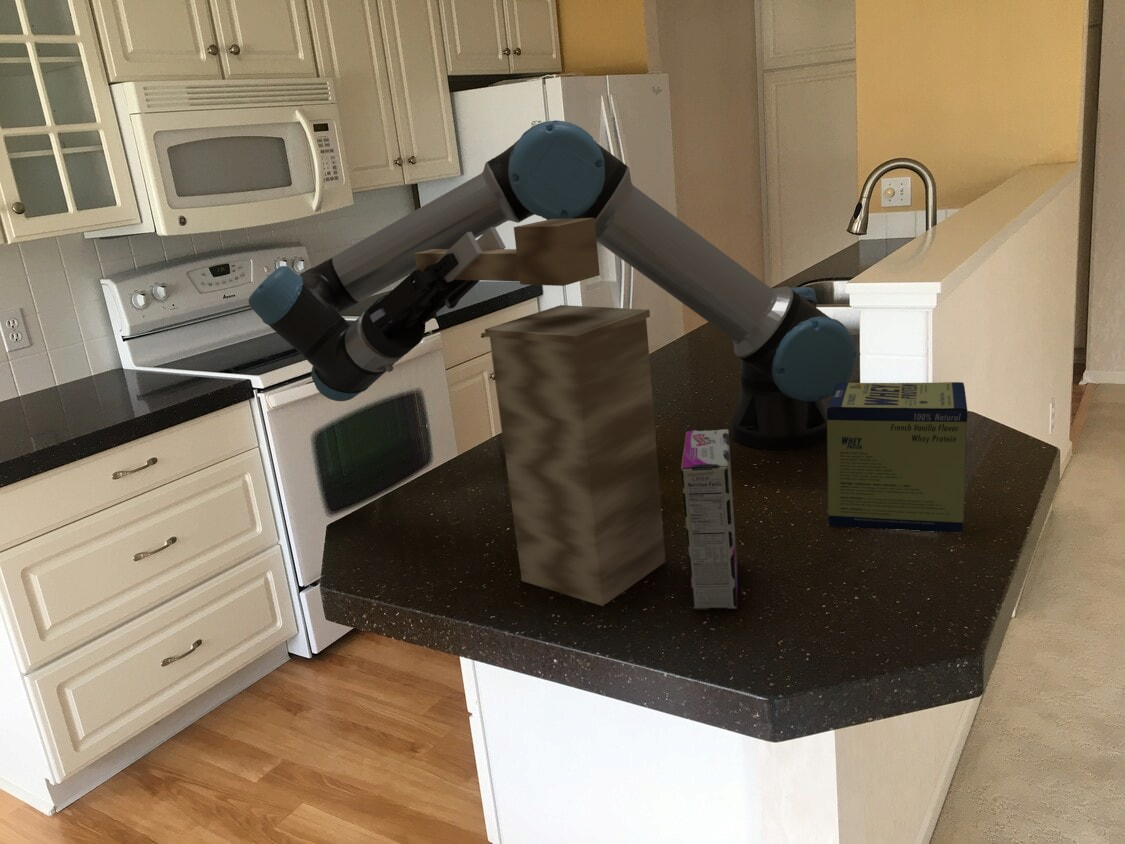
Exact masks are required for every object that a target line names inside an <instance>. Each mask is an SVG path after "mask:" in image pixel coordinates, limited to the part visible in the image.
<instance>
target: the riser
mask: <svg viewBox="0 0 1125 844" xmlns="http://www.w3.org/2000/svg"><path fill="white" fill-rule="evenodd" d="M650 311H651V310H650V309H649V308H648V309H647V308H645V309H643V308H626V307H625V308H624V307H609V306H608V307H606V306H604V307H603V306H589V305H588V306H585V305H566V304H563V305H562V304H560V305H556V306H554V307H550V308H547V309H545V310H541V311H538V312H535V313H532V314H528V315H526V316H523V317H520V318H516V319H513V320H509V321H506V322H504V323H500V324H497V325H494V326H490V327H488V328H485V329H484V334H485V337H487V338H489V342H490V349H491V356H492V364H493V372H494V373H493V374H494V380H495V386H496V396H497V402H498V409H499V418H500V424H501V432H502V433H501V434H502V440H503V441H502V442H503V448H504V456H505V463H506V470H507V479H508V485H509V492H510V493H509V494H510V501H511V507H512V508H511V509H512V515H513V523H514V525H513V526H514V532H515V540H516V548H517V555H518V562H519V568H520V577H521V582H523V583H527V584H531V585H533V586H536V587H540V588H543V589H547V590H549V591H554V592H557V593H559V594H562V595H566V596H569V597H572V598H575V599H579V600H581V601H585V602H589V603H591V604H593V605H598V606H601V607H604V606H605V605H606V604H608V603H610V602H611V601H612V600H614V599H615V598H616V597H618V596H619V595H621V594H622V593H624V592H625V591H627V590H628V589H629V588H631V587H632V586H634V584H637V582H639V581H640V580H642V579H644V578H645V577H646V576H647V575H649V574H650V573H652V572H653V571H655V570H656V569H657V568H659V567H660V566H661V565H664V564H665V563H666V552H665V541H664V539H665V538H664V537H665V536H664V526H663V514H662V504H661V503H662V502H661V487H660V486H661V485H660V475H659V462H658V450H657V449H658V448H657V440H656V439H657V438H656V426H655V413H654V411H655V410H654V400H653V399H654V398H653V387H652V374H651V363H650V362H651V360H650V349H649V336H648V325H647V324H648V323H647V318H651V314H650Z"/></svg>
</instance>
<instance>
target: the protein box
mask: <svg viewBox="0 0 1125 844" xmlns="http://www.w3.org/2000/svg"><path fill="white" fill-rule="evenodd" d="M967 405H968V404H967V397H966V389H965V383H964V382H962V381H956V382H955V381H954V382H953V381H951V382H950V381H947V382H945V381H944V382H943V381H942V382H847V383H836V384H835V385H834V389H833V393H832V396H830V399H829V401H828V403H827V406H826V408H827V438H826V440H827V441H826V442H827V445H826V446H827V447H826V448H827V451H826V453H827V526H828V527H832V528H833V527H834V528H847V527H854V528H853V529H856V528H855V527H859V528H858V529H866V528H876V529H875V530H884V529H886V528H887V529H905V530H907V529H908V530H920V531H935V532H934V533H936V531H937V532H939V531H940V532H941V531H942V532H944V531H945V532H963V533H964V517H965V515H964V514H965V493H966V492H965V490H966V464H967V463H966V460H967V443H968V442H967V441H968V406H967ZM878 528H879V529H878ZM881 528H882V529H881Z"/></svg>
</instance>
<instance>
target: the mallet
mask: <svg viewBox="0 0 1125 844" xmlns="http://www.w3.org/2000/svg"><path fill="white" fill-rule="evenodd" d="M513 234H514V235H513V236H514V241H515V248H512V249H511V248H508V249H507V248H505V249H481V251H482V252H483V253H482V254H481V255H480V256H479V257H478V258H477V259H475V260H474V261H473V262H472V263H471V264H470V265H469V266H468V267H467V268H466V269H464V270H463V271H462V272H461V273H460V274H459V275H458V276H457V277H456V278H455V279H453V280H480V281H485V282H486V281H487V282H491V281H492V282H517V283H518V282H519V284H520V285H521V286H522V285H525V286H526V285H527V286H528V285H529V286H553V287H555V286H560V287H565V286H568V285H571V284H575V283H578V282H582V281H585V280H588V279H592V278H596V277H599V276H600V275H601V273H600V263H599V254H598V252H599V251H598V242H597V240H596V229H595V218H574V219H549V220H547V219H545V220H540V221H536V222H531V223H526V224H522V225H517V226H513ZM448 250H449V249H432V250H427V251H423V252H418V253H414V255H415V261H416V268H417V270H418V269H420V270H421V272H423V271H424V270H425V268H426V267H427V266H428V265H430V264H436V263H437V261H438V260H439V259H440V258H441V257H442V256H443V255H444V254H445V253H446V252H447V251H448ZM443 279H445V277H444V278H443Z"/></svg>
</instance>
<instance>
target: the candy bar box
mask: <svg viewBox="0 0 1125 844" xmlns="http://www.w3.org/2000/svg"><path fill="white" fill-rule="evenodd" d="M684 435H685V436H684V446H683V452H682V457H681V458H682V459H681V465H680V466H681V467H680V473H681V481H682V494H683V497H682V498H683V507H684V517H685V528H686V540H687V554H688V564H689V576H690V589H691V600H692V602H691V603H692V609H694V610H697V611H698V610H699V611H707V610H710V611H712V610H711V609H715V610H737V609H738V558H737V556H738V555H737V541H736V540H737V539H736V528H735V527H736V526H735V515H734V514H735V513H734V512H735V510H734V497H733V480H732V466H731V465H732V464H731V462H732V461H731V448H730V432H729V429H704V430H703V429H702V430H699V429H698V430H697V429H695V430H688V431H686V432H685V434H684Z"/></svg>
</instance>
